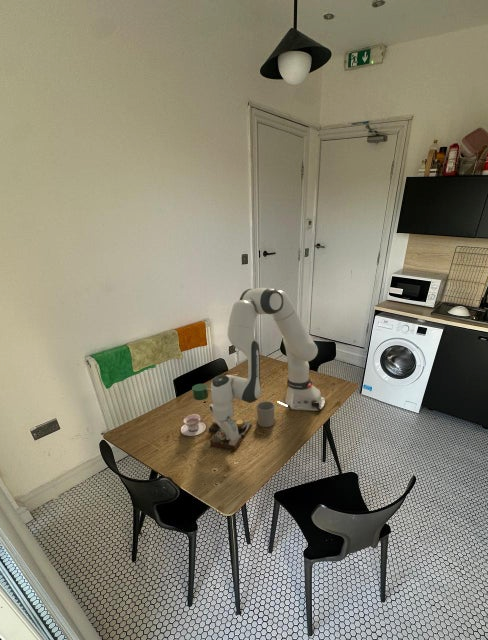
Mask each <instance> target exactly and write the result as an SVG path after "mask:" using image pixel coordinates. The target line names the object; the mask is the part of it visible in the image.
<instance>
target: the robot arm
mask: <svg viewBox="0 0 488 640" xmlns="http://www.w3.org/2000/svg"><path fill="white" fill-rule="evenodd" d="M258 315H271V316H272V318H273V320H274V323H275V325H276V326H277V328H278V330H279V331H280V333H281V335H282V342H283V346H284V348H285V349H284V350H285V354H286V360H287V375H288V376H287V378H286V388H287V389H286V396H285V398H284V402H285V403H283V402H281V401H277V403H278V404H280V405H283V406H285V407H288V406H289V408H290V409H291V410H296V411H314V412H321V411H322V409H324V407H325V404H326V399H325V397H323V396H322V393H321V391H320V390H319V389H318V388H317V387H316V386H314V385H313V379H311V378H309V376H310V364H309V362H311V361H313V360H314V359H315V358H316V357H317V355H318V353H319V352H318V351H319V348H318V346H317V344H316V343H315V342H314V340H313V338H312V337H311V335H310V333H309V332H308V330H307V328H306V327H305V326H304V324H303V322H302V320H301V319H300V316H299V315H298V312H297V310H296V308H295V306H294V304H293V302H292V300H291V299H290V297H289V296H288V294H287V293H286V292H285V291H284V290H283V289H282V290H281V289H275V288H272V287H257V288H247V289H245V290H244V291H243V292H242V293H241V295H240V297H239V299H238V300H236V301H235V302H234V304H233V305H232V309H231V311H230V315H229V319H228V326H227V338H228V341H229V343H230V344H231V345H232V346H233V347H234V348H235V349H237V350H239V351H240V352H242V353H243V355H245V356H246V359H247V373H248V374H247V378H246V377H241V376H239V375H233V374H226V375H225V374H220V375H216V376H215V377H213V378H212V379H211V383H210V389H211V391H210V397H211V401H212V403H211V404H209V406H208V407H209V410H210V413H211V417H212V418H213V420H214V421H215V422H216V423H217V424H218V426H219V427H220V428H221V431H222V432H224V433H225V434H226V436H225V438H226V439H227V440H229V439H230V440H231V441H233V440H236V439H238V438H239V432H238V427H237V424H236V423H235V422H234V421H233V420H234V419H233V417H234V416H235V407H234V402H233V399H237V400H240V401H243V402H245V403H248V404H252V403H254V402H256V401H257V400H259V399H260V398H261V393H262V385H261V353H260V351H261V350H260V345H259V342H257V341H256V338H255V327H256V319H257V317H258ZM212 418H211V419H212Z"/></svg>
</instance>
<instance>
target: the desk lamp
mask: <svg viewBox="0 0 488 640" xmlns="http://www.w3.org/2000/svg"><path fill="white" fill-rule="evenodd" d="M191 390H192V396H193V399H194V400H196V401H204V400H206V399H208V398H209V392H211V388H209V387H208V385H207V384H205V383H197V384H194V385H193V386H192V387H191ZM211 423H212V424H213V423H214V424H217V423H216V422H215V421H214V420H213V418H211Z"/></svg>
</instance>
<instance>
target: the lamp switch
mask: <svg viewBox="0 0 488 640" xmlns="http://www.w3.org/2000/svg"><path fill="white" fill-rule="evenodd" d="M243 421H244V420H242V419H238V420H237V421H236V424H237V427H242V426H243Z"/></svg>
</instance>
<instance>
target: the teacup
mask: <svg viewBox="0 0 488 640" xmlns="http://www.w3.org/2000/svg"><path fill="white" fill-rule="evenodd" d="M183 423H184V424H183V425H182V426H181V428H180V433H181V435H183V436H185V437H196V436H199V435H202V434H203V433H204V432H205V431H206V429H207V426H206V424H205V423H204V422H202V421H201V416H200V414H197V413H193V414H192V413H191V414H188V415H187V416H185V417H184V418H183Z"/></svg>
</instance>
